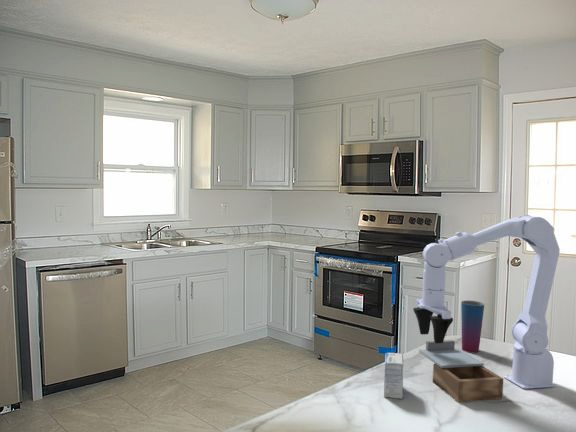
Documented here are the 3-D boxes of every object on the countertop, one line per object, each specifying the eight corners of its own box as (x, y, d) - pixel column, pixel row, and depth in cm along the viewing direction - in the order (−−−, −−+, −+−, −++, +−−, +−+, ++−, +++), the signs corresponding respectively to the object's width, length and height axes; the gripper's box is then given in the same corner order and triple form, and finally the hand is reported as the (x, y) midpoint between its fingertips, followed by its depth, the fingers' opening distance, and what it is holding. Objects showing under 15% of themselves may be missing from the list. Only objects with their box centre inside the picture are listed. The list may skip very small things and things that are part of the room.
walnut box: (473, 379, 133) (474, 361, 133) (502, 398, 122) (503, 378, 121) (432, 382, 131) (433, 363, 130) (457, 402, 119) (458, 381, 119)
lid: (458, 350, 141) (458, 339, 141) (483, 365, 129) (484, 354, 129) (419, 352, 138) (419, 341, 138) (441, 368, 127) (442, 356, 126)
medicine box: (402, 399, 120) (403, 364, 119) (383, 397, 121) (384, 362, 120) (401, 386, 127) (403, 353, 127) (383, 384, 128) (385, 351, 128)
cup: (460, 352, 155) (463, 304, 154) (457, 345, 162) (459, 299, 161) (483, 354, 154) (486, 306, 153) (479, 347, 160) (481, 301, 159)
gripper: (407, 283, 140) (405, 331, 141) (434, 294, 126) (431, 347, 127) (430, 282, 142) (428, 329, 143) (459, 294, 128) (456, 346, 129)
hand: (431, 338), depth 135 cm, fingers open, 7 cm apart
